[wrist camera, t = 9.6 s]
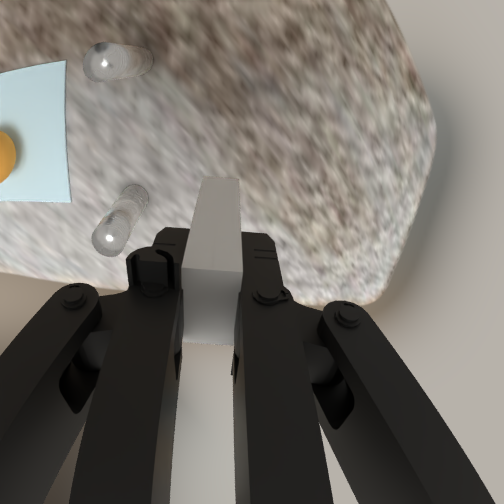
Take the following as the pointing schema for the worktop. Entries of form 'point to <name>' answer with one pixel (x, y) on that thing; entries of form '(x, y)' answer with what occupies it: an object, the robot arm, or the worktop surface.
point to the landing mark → (36, 133)
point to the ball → (6, 156)
